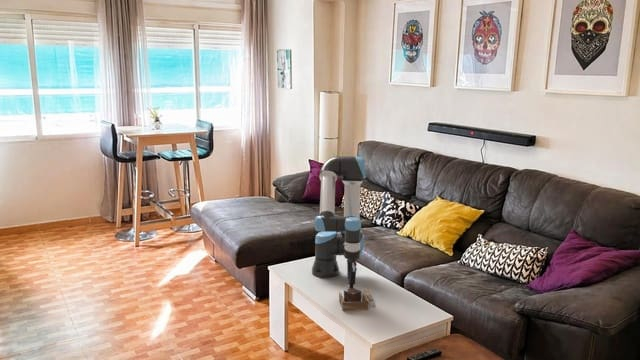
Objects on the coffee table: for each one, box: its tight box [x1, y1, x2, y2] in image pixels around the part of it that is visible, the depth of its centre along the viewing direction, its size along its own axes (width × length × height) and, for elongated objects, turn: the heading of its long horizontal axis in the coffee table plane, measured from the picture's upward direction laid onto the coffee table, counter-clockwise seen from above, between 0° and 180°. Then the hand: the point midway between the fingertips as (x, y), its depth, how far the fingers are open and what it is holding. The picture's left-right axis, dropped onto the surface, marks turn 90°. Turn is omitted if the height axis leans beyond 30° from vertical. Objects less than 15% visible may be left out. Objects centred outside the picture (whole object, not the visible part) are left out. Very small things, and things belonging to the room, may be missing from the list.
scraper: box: [363, 287, 376, 308], centre depth 252 cm, size 17×2×2 cm, turn 7°
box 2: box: [338, 291, 369, 312], centre depth 246 cm, size 12×12×4 cm
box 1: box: [343, 287, 362, 302], centre depth 245 cm, size 6×6×7 cm
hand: (350, 295), depth 252 cm, fingers closed
